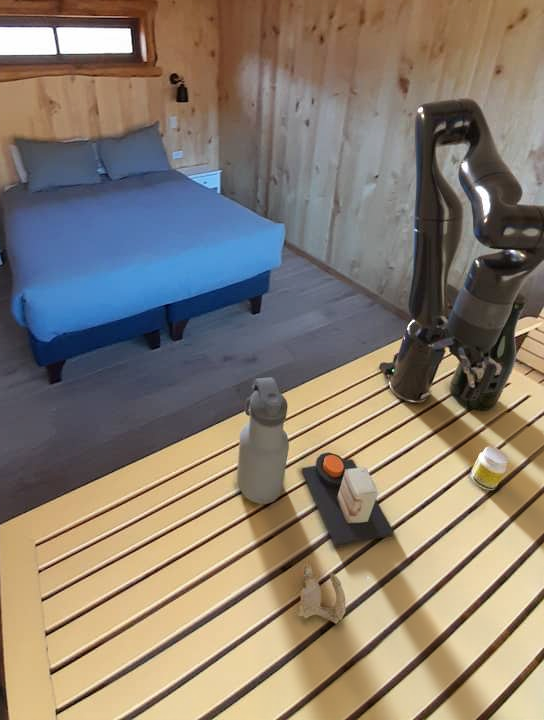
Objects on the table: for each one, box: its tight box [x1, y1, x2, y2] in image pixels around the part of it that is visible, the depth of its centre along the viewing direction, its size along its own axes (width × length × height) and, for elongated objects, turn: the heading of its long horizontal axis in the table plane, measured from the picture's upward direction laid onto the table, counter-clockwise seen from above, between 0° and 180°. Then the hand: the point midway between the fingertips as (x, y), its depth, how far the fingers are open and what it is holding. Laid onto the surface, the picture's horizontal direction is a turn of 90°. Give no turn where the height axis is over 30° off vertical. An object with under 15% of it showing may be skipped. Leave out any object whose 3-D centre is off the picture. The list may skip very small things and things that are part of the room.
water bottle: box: [236, 377, 290, 505], centre depth 81 cm, size 10×10×28 cm
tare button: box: [323, 455, 344, 478], centre depth 86 cm, size 4×4×2 cm
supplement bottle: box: [470, 446, 509, 491], centre depth 85 cm, size 5×5×8 cm
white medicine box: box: [337, 466, 379, 523], centre depth 78 cm, size 5×4×10 cm
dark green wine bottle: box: [448, 292, 526, 413], centre depth 99 cm, size 10×10×33 cm
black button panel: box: [301, 452, 394, 548], centre depth 83 cm, size 16×12×3 cm
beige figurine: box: [297, 563, 347, 624], centre depth 67 cm, size 9×6×10 cm
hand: (449, 380), depth 76 cm, fingers open, 8 cm apart
